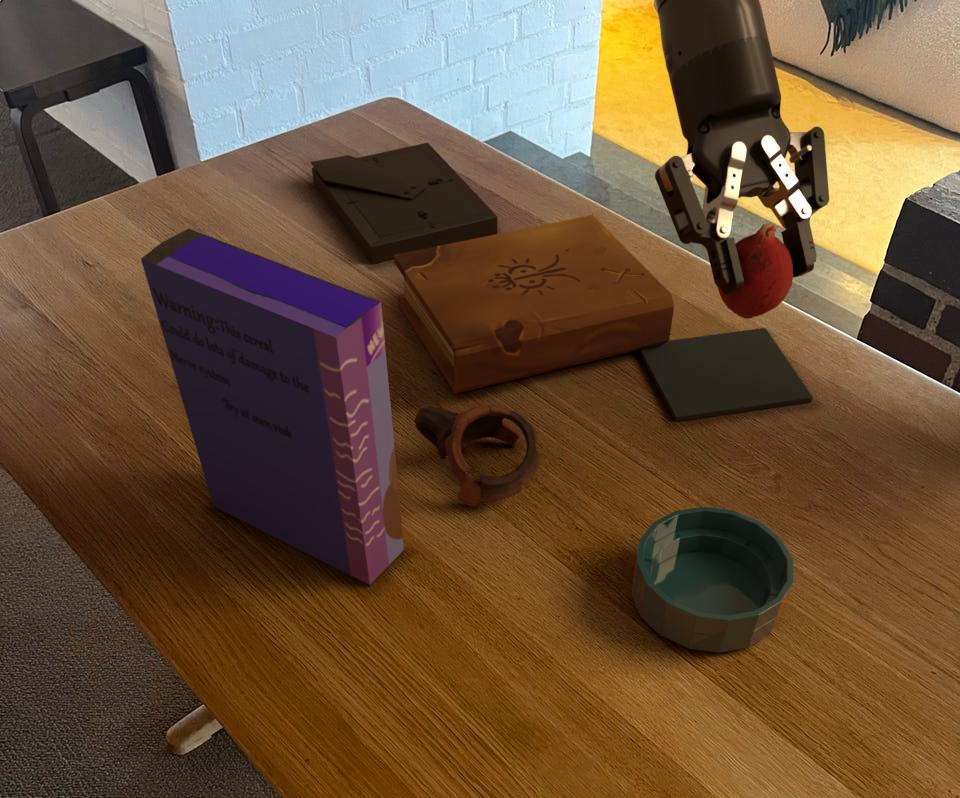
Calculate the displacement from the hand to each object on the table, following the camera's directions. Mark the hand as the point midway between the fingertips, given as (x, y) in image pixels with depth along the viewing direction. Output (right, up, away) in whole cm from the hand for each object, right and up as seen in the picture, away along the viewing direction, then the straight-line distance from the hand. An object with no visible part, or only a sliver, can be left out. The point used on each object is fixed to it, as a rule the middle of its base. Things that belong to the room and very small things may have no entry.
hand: (769, 281), depth 77 cm
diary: (-17, +5, +27) cm, 33 cm away
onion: (-1, -2, +4) cm, 5 cm away
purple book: (-38, -19, +9) cm, 43 cm away
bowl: (-4, -25, +3) cm, 25 cm away
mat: (+2, -1, +22) cm, 22 cm away
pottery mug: (-23, -13, +13) cm, 29 cm away
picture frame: (-32, +25, +44) cm, 59 cm away
